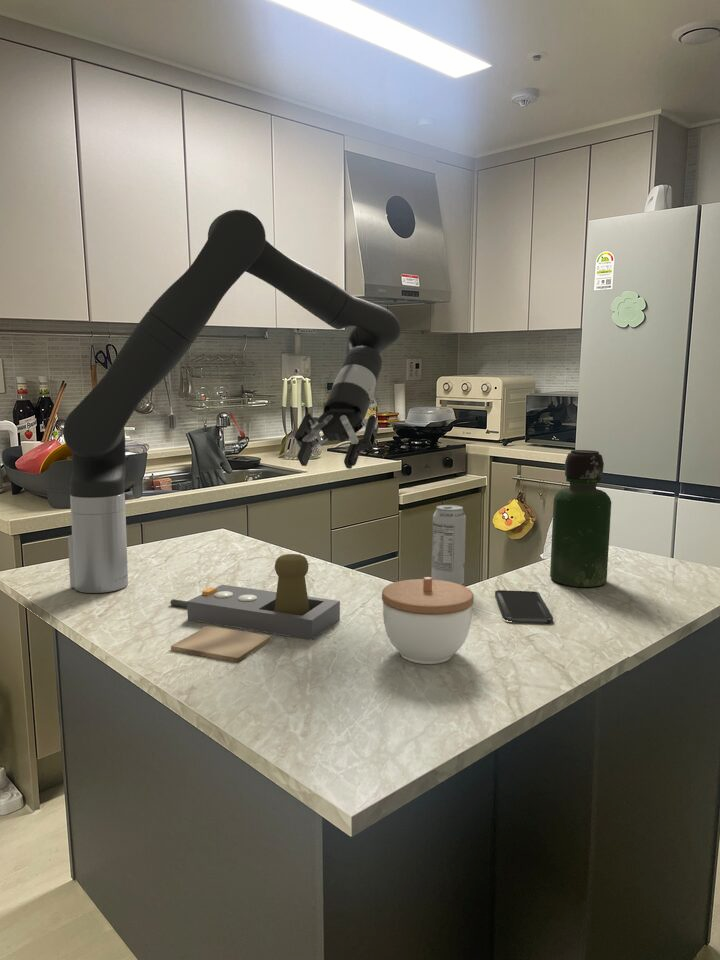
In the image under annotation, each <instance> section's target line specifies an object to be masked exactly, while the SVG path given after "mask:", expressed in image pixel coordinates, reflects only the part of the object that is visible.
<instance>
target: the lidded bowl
mask: <svg viewBox="0 0 720 960" xmlns="http://www.w3.org/2000/svg"><path fill="white" fill-rule="evenodd" d="M474 596H475V595H474V593H473V591H472V590H471V589H470V588H469V587H466V586H465V585H463V584H462V585H460V584H456V583H453V582H448V581H442V580H432V578H431V576H424V577H423V578H417V579H416V578H414V579H413V578H412V579H405V580H399V581H396V582H392V583H390V584H388V585H386V586H384V587H383V589H382V591H381V600H382V617H383V625H384V629H385V633H386V636H387V638H388V639H389V642H390V643H391V644H392V646H393V647H394V648H395V649H396V650H397V651H398V652H399V653H400V656H401V657H402V658H403V659H404V660H406V661H408V662H411V663H415V664H420V665H438V664H439V665H440V664H443V663H447V662H449V661H450V660H451V659H452V657H453V655H455V654H456V653H457V652H458V651H459V650H460V649H461V648H462V646H463V645H464V643H465V642H466V640H467V638H468V635H469V633H470V629H471V623H472V620H473V619H472V618H473V605H474Z"/></svg>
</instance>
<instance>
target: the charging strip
mask: <svg viewBox="0 0 720 960" xmlns="http://www.w3.org/2000/svg"><path fill="white" fill-rule="evenodd" d="M201 592H202V593H201V594H199V595H197V596H195V597H193V598H190V599H189V600H183V599H182V600H181V599H174V598H173V599H171V600H170V602H169V604H171V605H172V606H175V607H181V608H186V610H187V620H188V621H196V622H201V623H207V624H214V625H219V626H226V627H232V628H237V629H244V630H250V631H256V632H263V633H268V634H274V635H279V636H286V637H292V638H293V637H294V638H298V639H299V638H300V639H306V640H309V641H310V640H311V641H313V640H314V639H316V637H319V635H321V634H323V632H324V631H326V630H327V629H329V628H330V627H332V626H333V625H334V624H336V623H337V621H339V620H341V601H340V600H336V599H335V600H334V599H328V598H323V597H322V598H321V597H314V596H308V603H309V612H307V613H306V614H304V615H303V616H301V615H294V614H287V613H281V612H274V609H275V601H276V593H277V591H271V590H264V589H258V588H257V589H256V588H250V587H249V588H248V587H241V586H235V585H227V584H221V585H219V586H217V587H208V588H206V589H204V590H203V591H201Z"/></svg>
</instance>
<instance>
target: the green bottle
mask: <svg viewBox="0 0 720 960" xmlns="http://www.w3.org/2000/svg"><path fill="white" fill-rule="evenodd" d="M566 455H567V456H566V458H565V461H564V462H565V463H564V476H565V477H566V478H565V481H566V482H568V483H569V487H566V488H562V489H560V490H559V491H558V492H556V494H555V495H554V498H553V503H552V504H553V506H552V507H553V508H552V509H553V510H552V523H551V524H552V527H551V528H552V529H551V549H550V551H551V552H550V565H549V566H550V569H549V577H550V578H551V579H552V580H553V581H554V582H555V583H559V584H561V585H565V586H569V587H575V588H576V587H577V588H593V587H600V586H602V585H605V584H606V583H607V581H608V563H609V549H610V533H611V515H612V514H611V513H612V500H611V497H610V496H609V495H608V494H607V492H605V491H604V490H602V489H598V488H597V486H598V484H600V483H601V481H602V478H603V476H604V475H603V473H604V468H605V467H604V466H605V463H604V458H603V455H602V454H600V451H598V450H587V449H575V450H574V449H572V450H570V452H569V453H568V454H566Z"/></svg>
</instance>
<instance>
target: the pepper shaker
mask: <svg viewBox="0 0 720 960" xmlns="http://www.w3.org/2000/svg"><path fill="white" fill-rule="evenodd" d="M274 571H275V574H276V575H277V578H278V579H277V586H276V592H277V593H276V601H275V609H274V612H281V613H287V614H294V615H301V616H303V615H304V614H306V613H307V612H309V603H308V597H309V596H308V589H307V581H306V575H307V574H308V572H309V561H308V560H307V558H306V557H305V556H304V555H301V554H297V553H296V554H295V553H287V554H282V555H280V556H278V557H277V558H276V560H275V563H274Z"/></svg>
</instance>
